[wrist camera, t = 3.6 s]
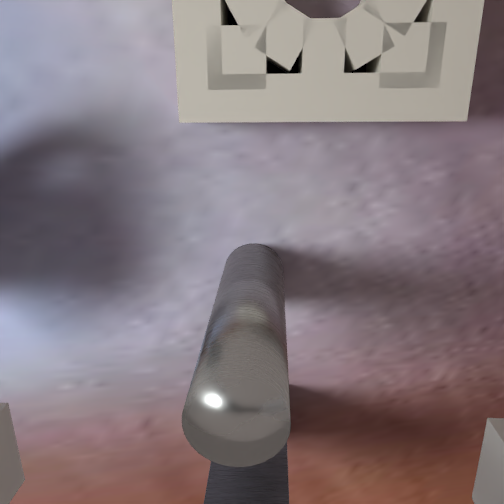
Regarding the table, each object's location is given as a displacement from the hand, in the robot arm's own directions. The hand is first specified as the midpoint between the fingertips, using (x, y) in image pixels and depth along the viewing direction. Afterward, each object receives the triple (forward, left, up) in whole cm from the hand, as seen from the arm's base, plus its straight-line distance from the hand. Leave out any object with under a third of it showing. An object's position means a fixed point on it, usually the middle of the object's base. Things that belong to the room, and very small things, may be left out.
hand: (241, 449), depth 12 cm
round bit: (0, 0, -13) cm, 13 cm away
